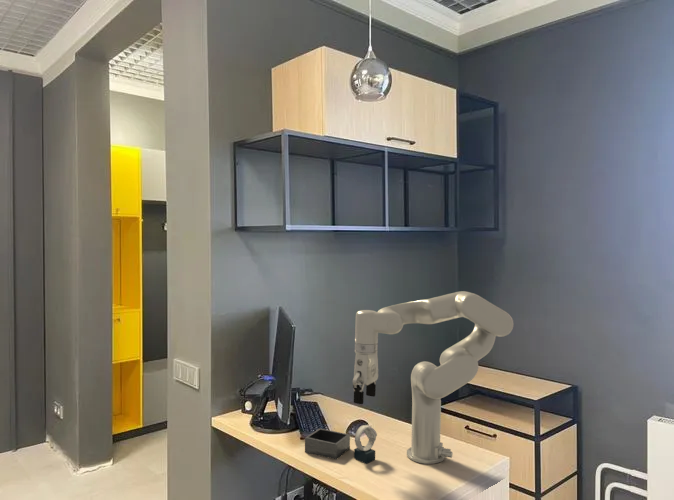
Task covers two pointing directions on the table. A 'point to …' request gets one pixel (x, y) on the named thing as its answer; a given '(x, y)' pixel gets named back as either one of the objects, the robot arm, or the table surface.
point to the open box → (327, 443)
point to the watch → (366, 452)
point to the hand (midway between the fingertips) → (364, 399)
